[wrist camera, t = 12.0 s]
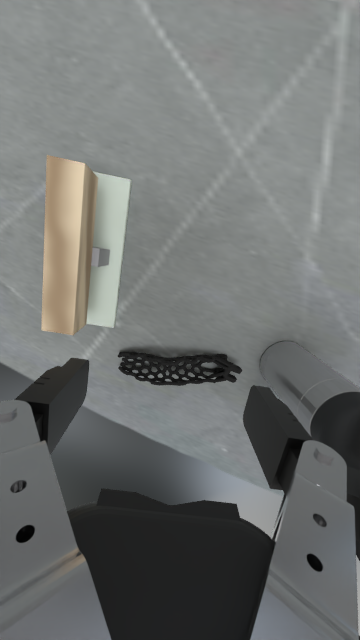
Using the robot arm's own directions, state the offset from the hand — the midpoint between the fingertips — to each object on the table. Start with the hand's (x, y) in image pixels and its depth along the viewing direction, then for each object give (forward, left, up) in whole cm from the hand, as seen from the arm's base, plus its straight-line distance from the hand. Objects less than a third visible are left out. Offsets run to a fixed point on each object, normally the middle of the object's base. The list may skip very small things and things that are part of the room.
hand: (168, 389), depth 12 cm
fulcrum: (+14, -4, -32) cm, 35 cm away
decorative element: (-4, +13, -32) cm, 35 cm away
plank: (+14, -4, -25) cm, 28 cm away
